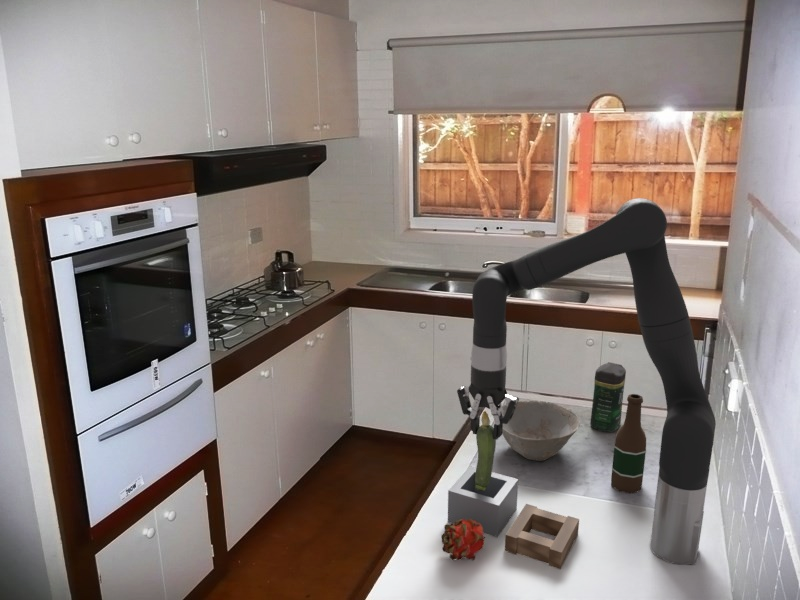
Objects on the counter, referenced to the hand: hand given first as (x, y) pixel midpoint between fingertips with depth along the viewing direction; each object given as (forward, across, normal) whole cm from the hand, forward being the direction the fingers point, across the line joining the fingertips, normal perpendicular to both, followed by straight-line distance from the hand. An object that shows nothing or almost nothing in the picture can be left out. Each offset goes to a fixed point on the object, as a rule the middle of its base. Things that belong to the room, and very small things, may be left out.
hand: (486, 434), depth 149 cm
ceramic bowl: (+21, -1, -34) cm, 40 cm away
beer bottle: (+21, -26, -29) cm, 44 cm away
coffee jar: (+21, -14, -59) cm, 64 cm away
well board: (+20, -15, +3) cm, 26 cm away
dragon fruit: (+21, -2, +14) cm, 25 cm away
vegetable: (+14, 0, 0) cm, 14 cm away
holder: (+20, 0, 0) cm, 20 cm away
